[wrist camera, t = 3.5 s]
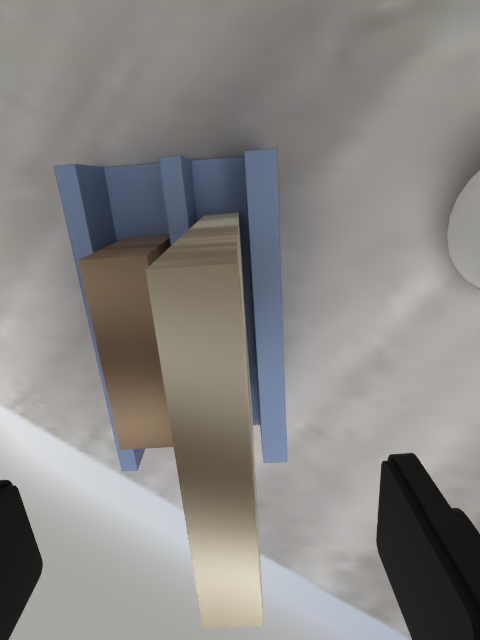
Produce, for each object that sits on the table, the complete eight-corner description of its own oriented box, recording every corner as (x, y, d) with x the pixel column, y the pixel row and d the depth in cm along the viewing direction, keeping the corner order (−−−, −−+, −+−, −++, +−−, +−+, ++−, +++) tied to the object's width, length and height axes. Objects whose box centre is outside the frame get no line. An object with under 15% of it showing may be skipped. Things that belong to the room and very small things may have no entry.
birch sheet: (205, 214, 22) (145, 269, 8) (238, 212, 22) (236, 263, 8) (222, 390, 26) (202, 628, 12) (250, 389, 26) (263, 625, 12)
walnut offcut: (124, 237, 23) (77, 260, 16) (173, 234, 23) (147, 255, 16) (149, 382, 26) (119, 450, 20) (192, 380, 26) (176, 446, 20)
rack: (92, 169, 22) (53, 165, 18) (268, 155, 22) (276, 148, 17) (141, 423, 29) (121, 471, 24) (279, 415, 28) (287, 461, 24)
